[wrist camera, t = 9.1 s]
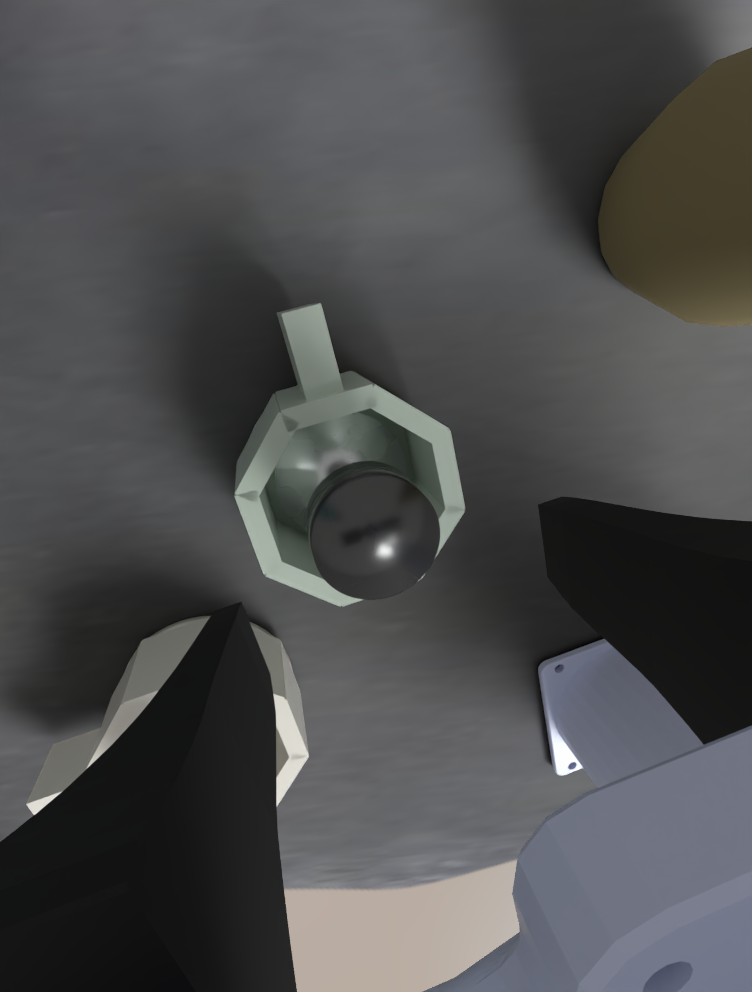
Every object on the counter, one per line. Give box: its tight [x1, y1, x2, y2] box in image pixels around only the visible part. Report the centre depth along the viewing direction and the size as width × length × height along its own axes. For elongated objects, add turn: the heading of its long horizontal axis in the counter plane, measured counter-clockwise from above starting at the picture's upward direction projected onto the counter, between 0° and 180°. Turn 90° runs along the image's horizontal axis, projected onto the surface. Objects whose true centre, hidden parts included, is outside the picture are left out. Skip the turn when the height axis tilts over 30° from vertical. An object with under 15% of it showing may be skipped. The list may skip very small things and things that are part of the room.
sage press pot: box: [234, 303, 465, 607], centre depth 19 cm, size 10×7×4 cm
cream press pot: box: [26, 616, 309, 815], centre depth 21 cm, size 10×7×4 cm
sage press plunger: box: [275, 411, 440, 600], centre depth 17 cm, size 5×5×6 cm
